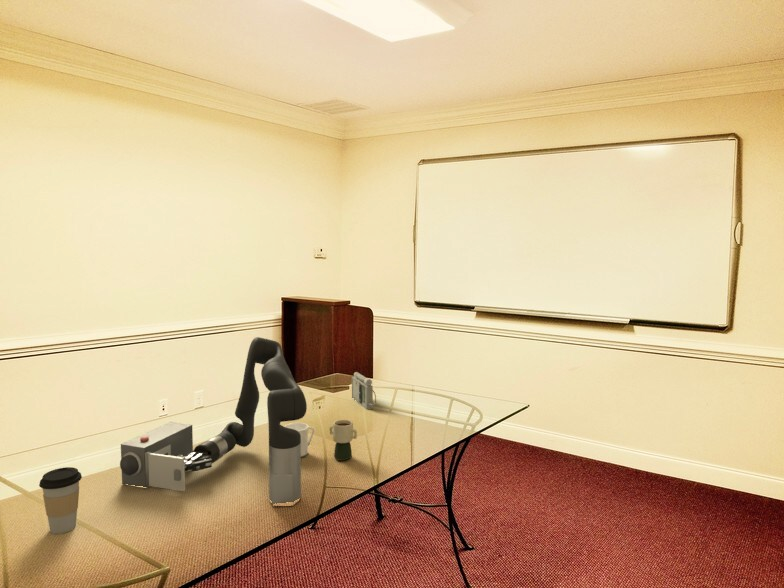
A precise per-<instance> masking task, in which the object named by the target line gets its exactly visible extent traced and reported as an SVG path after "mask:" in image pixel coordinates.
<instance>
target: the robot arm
mask: <svg viewBox="0 0 784 588" xmlns="http://www.w3.org/2000/svg"><path fill="white" fill-rule="evenodd" d="M256 364H259V365H262V368H261V374H260V375H261V379H262V382H263V385H264V386H265V388H266V389H267V390H268V391H269V392H268V395H267V401H266V405H267V419H268V420H267V422H268V423H267V424H268V494H269V495H268V496H269V497H268V498H269V499H270V500H271V501H272V504H275V503H276V504H277V503H286V502H294V501H295V500H297V499H299V498H300V497H301V498H302V468H301V466H302V464H301V463H302V462H301V461H302V460H301V459H302V458H301V435H300V433H299V432H298V431H297V430H294V429H290V428H286V427H284V426H285V425H281V423H283V422H291V421H293V422H294V421H298V420H301V419H303V418H304V417H305V415H306V414H307V410H308V409H307V407H308V406H307V405H308V403H307V399H306V396H305V394H304V392H303V390H302V388H301V387H300V386H299V384H298V383H297V382H296V380H295V379H294V377H293V374H292V371H291V369H290V367H289V365H288V364H287V361H286V359H285V357H284V352H283V349H282V345H281V344H280V342H278V341H277V340H273V339H268V338H264V337H259V336H257V337H256V336H255V337H254V338H253V339H252V340H251V342H250V345H249V347H248V352H247V357H246V363H245V367H244V373H243V380H242V386H241V390H240V394H239V398H238V402H237V404H236V408H235V411H234V415H235V417H236V418H237V419H238V420H240V421H241V422H242V423H239V422H236V421H232V422H229V423H227V424H226V426H225V427H224V428H223V430H221V432H220V433H219V434H217V435H215V436H213V437H211V438H208V439H207V440H204V441H202V442H201V443H200V444H198V445H196V446H195V448H193V452H192V453H189V454H187V455H186V456H182V455H181V454H179V455H177V457H184V467H185V473H186V472H190V471H192V472H197V471H201V470H202V471H203V470H206V469H209V468H212V467H213V465H212V464H214V463H215V462H217V461H219V460H220V459H222V458H223V457H224V456H225V455H227V454H228V453H229V452H231V451H232V450H233V449H235V447H236V446H239V447H242V448H245V447H248V446H249V445H250V444H251V443H252V442H253V439H254V436H255V415H256V412H257V408H258V405H259V402H260V390H259V387H258V384H257V380H256V375H255V367H256ZM269 499H268V500H269ZM272 504H271V505H272Z"/></svg>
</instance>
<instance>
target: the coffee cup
mask: <svg viewBox="0 0 784 588" xmlns="http://www.w3.org/2000/svg"><path fill="white" fill-rule="evenodd" d="M81 479H83V476H82V472H81V471H79V470H78V468H76V467H70V466H69V467H67V466H66V467H60V468H55V469H52V470H50V471H47V472H46V473H44V474H43V476H42V478H41V479H40V481H39V484H38V486H39V488H41V489H42V493H43V494H42V496H43V503H44V507H45V514H46V516H47V522H48V527H49V532H50V533H51V534H53V535H60V534H65V533H68V532H70V531H73V530H74V529H75V528H76V526H77V516H78V515H77V514H78V508H79V500H80V499H79V497H80V496H79V495H80V481H81Z"/></svg>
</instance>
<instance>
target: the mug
mask: <svg viewBox="0 0 784 588" xmlns="http://www.w3.org/2000/svg"><path fill="white" fill-rule="evenodd" d="M283 426H284V427H286V428H290V429H294V430H297V431H298V432H299V433H300V435H301V459H302V458H305V457H306V456H307V455H308V447H309V446H310V445H311V442H312V439H313V437H314V433H315V428H314V427H313V426H309V424H307V423H304V422H291V423H287V424H285V425H283ZM309 429H310V430H311V432H310V435H309ZM308 438H309V439H308Z"/></svg>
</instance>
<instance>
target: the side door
mask: <svg viewBox="0 0 784 588" xmlns="http://www.w3.org/2000/svg"><path fill="white" fill-rule="evenodd" d="M145 476H146V487H148V488H149V487H154V488H161V489H167V490H174V491H178V492H179V491H180V492H183V491H185V490H186V481H185V480H186V472H185V467H184V457H177V456H170V455H162V454H155V453H151V452H145Z"/></svg>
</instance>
